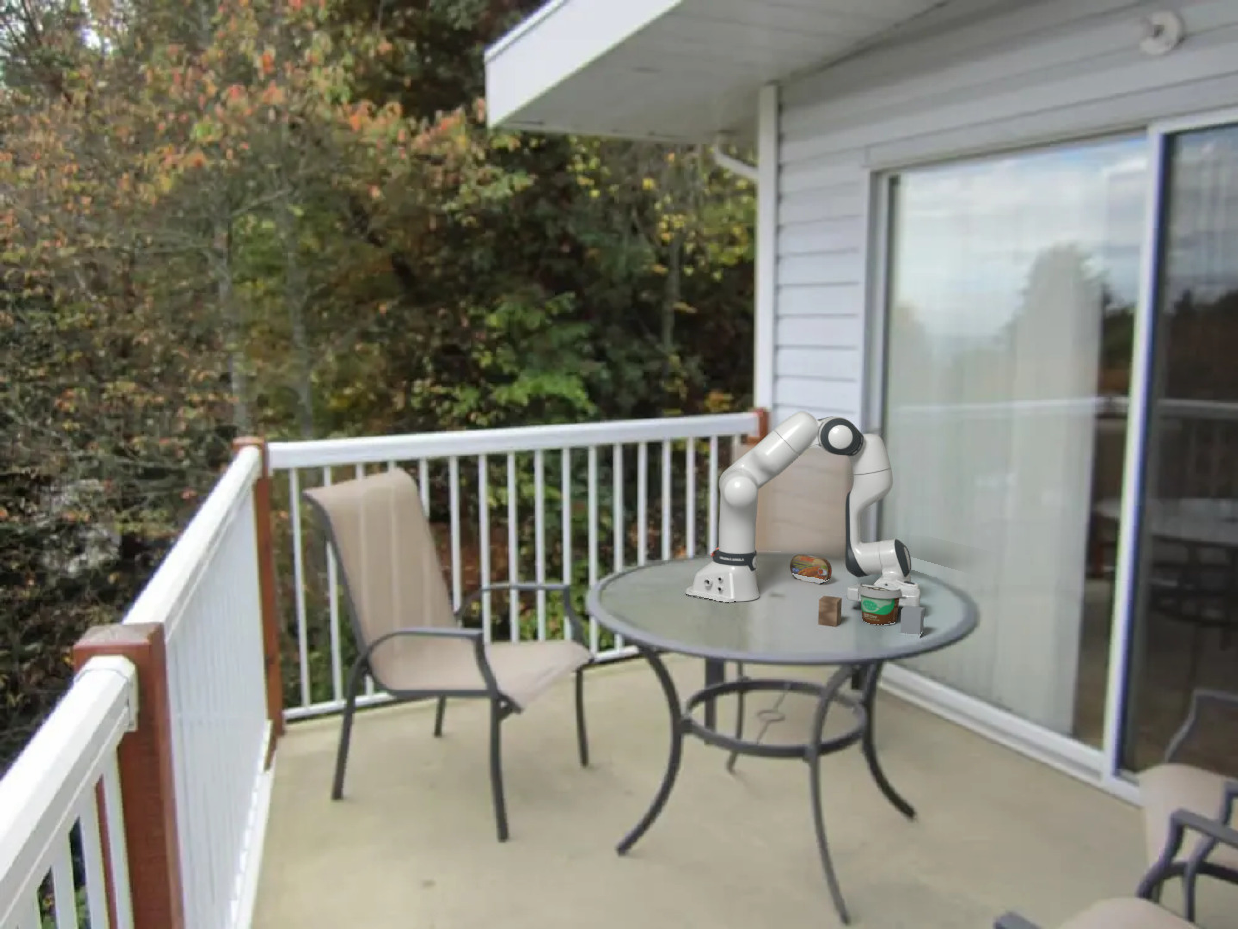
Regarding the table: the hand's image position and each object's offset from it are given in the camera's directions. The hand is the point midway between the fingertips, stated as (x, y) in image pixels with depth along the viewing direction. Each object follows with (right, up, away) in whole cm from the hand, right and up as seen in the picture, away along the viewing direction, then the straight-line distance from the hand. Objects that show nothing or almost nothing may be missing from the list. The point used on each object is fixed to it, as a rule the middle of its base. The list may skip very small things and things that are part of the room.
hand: (878, 602), depth 273 cm
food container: (-1, -6, -2) cm, 6 cm away
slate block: (+6, -7, -13) cm, 15 cm away
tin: (-10, 0, +45) cm, 46 cm away
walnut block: (-14, -6, -3) cm, 15 cm away
